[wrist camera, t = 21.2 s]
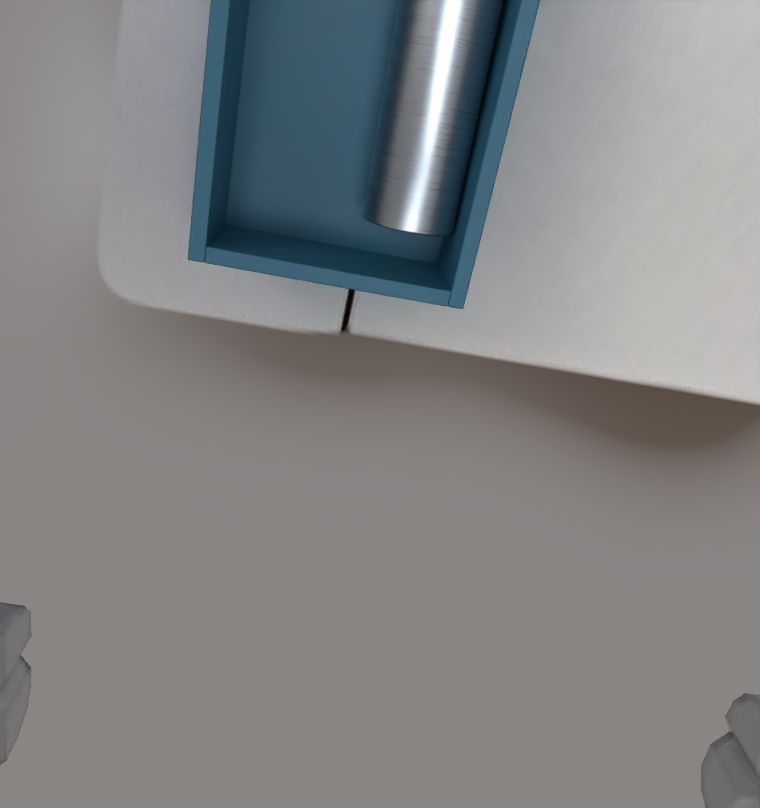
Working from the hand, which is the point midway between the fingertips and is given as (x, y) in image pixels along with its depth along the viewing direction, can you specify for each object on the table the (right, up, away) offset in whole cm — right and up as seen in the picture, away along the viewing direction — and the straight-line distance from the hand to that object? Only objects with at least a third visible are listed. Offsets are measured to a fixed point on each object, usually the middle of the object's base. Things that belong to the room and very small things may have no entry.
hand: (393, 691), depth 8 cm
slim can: (+1, +21, +26) cm, 33 cm away
